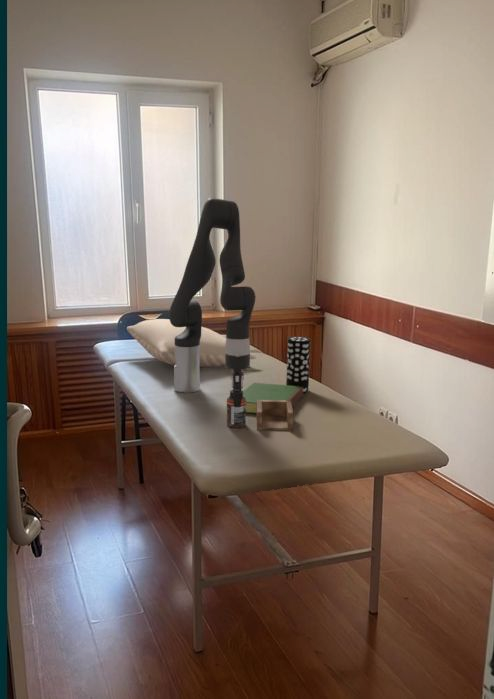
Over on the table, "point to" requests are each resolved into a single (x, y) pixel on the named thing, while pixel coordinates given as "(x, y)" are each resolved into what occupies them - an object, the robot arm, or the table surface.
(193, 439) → the table surface
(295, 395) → the hardcover book
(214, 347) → the pillow
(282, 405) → the open-sided wooden box
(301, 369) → the white-spotted black cylinder
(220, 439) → the table surface
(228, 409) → the supplement bottle
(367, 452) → the table surface
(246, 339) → the robot arm
